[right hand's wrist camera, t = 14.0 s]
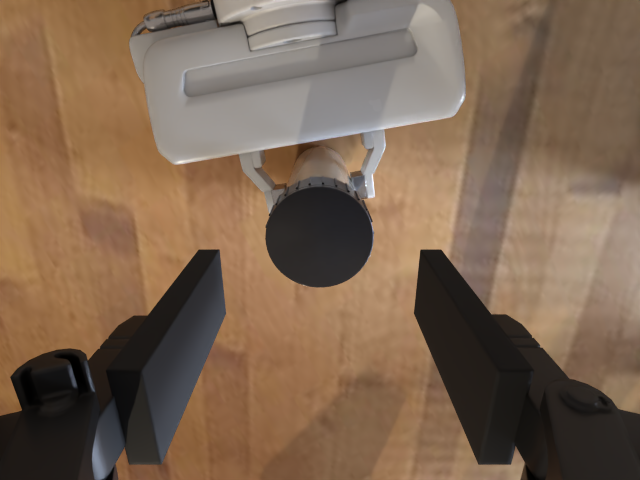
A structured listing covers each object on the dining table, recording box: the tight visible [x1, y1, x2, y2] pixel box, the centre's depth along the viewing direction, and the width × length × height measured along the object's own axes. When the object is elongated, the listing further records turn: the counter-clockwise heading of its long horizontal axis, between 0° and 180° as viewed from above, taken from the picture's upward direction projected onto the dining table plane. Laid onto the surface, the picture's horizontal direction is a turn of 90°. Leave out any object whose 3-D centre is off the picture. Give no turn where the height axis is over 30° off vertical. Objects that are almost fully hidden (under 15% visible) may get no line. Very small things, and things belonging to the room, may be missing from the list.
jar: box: [285, 147, 355, 191], centre depth 26 cm, size 5×5×16 cm
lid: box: [265, 176, 374, 287], centre depth 20 cm, size 5×6×2 cm
